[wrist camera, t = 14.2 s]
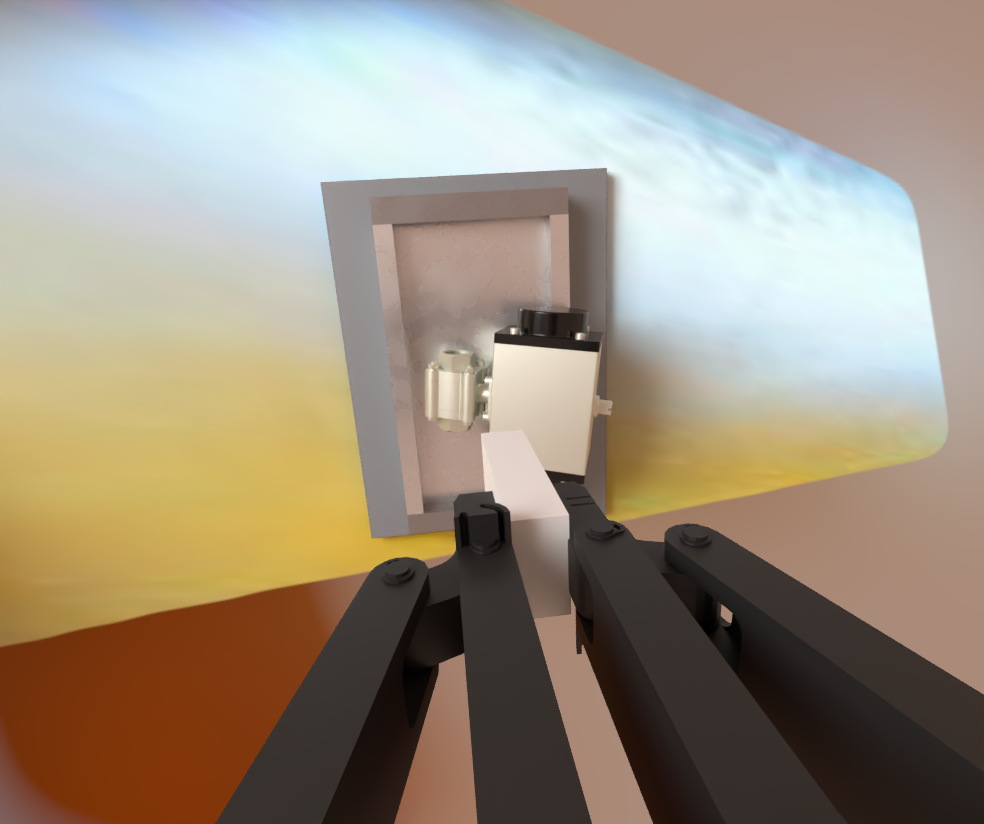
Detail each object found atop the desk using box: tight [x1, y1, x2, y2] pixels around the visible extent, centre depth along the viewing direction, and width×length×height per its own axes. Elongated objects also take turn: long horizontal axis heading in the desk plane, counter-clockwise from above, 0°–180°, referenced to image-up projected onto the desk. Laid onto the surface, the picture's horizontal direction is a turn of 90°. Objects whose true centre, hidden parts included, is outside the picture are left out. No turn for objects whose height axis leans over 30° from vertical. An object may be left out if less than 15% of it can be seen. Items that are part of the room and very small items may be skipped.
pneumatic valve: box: [425, 306, 613, 484], centre depth 33 cm, size 6×12×12 cm
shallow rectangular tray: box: [369, 187, 570, 534], centre depth 35 cm, size 12×23×2 cm, turn 3°
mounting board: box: [321, 168, 607, 538], centre depth 37 cm, size 19×26×1 cm
